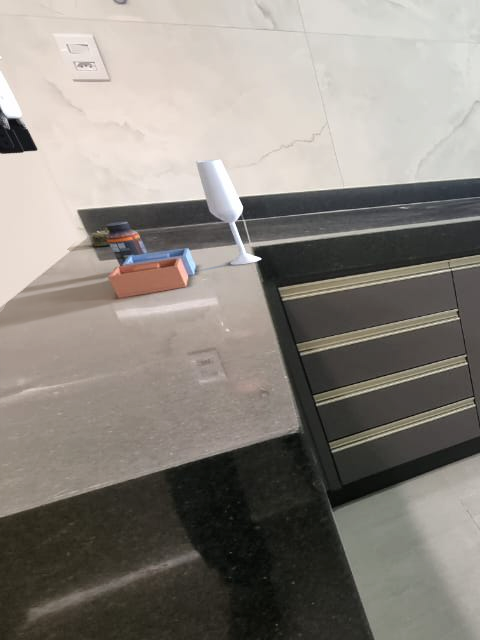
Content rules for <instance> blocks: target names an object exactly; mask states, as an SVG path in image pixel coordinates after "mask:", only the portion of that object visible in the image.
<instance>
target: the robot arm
mask: <svg viewBox="0 0 480 640" xmlns="http://www.w3.org/2000/svg"><path fill="white" fill-rule="evenodd" d="M1 60H3V58H2V56H1V55H0V61H1ZM22 116H23V114H22V111H21V108H20V106H19V104H18V101H17V100H16V97H15V96H14V93H13V92H12V90H11V88H10V86H9V84H8V82H7V80H6V79H5V76H4V74H3V72H2V71H1V70H0V154H1V155H5V154H6V155H9V154H10V155H11V154H22V153H24V152H37V151H38V150H39V149H38V147H37V145H36V142H35V141H34V139H33V137H32V135H31V133H30V130H29V129H28V128H27V125H26V124H25V123H24V121H23V119H22V118H21V117H22Z"/></svg>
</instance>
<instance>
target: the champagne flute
mask: <svg viewBox="0 0 480 640" xmlns="http://www.w3.org/2000/svg"><path fill="white" fill-rule="evenodd" d="M195 164H196V168H197V171H198V175H199V179H200V182H201V186H202V190H203V193H204V196H205V200H206V204H207V208H208V211H209V212H210V214H211V215H213V216H214V217H215V218H217V219H219V220H221V221H222V222H224V223H228V224H229V228H230V230H231V233H232V236H233V238H234V240H235V244H236V246H237V250H238V252H239V255H237V256H236V257H235V258H234V259H233V260H232V261H231V262H230V265H233V266H234V265H235V266H237V265H238V266H239V265H247V264H251V263H256V262H258V261H261V260H262V258H261V257H259V256H256V255H253V254H250V253H246V249H245V247H244V244H243V241H242V239H241V237H240V233H239V231H238V228H237V226H236V223H235V222H236V221H238V219H239V218H240V217H241V215H242V213H243V210H244V206H243V204H242V201H241V200H240V198H239V196H238V194H237V192H236V189H235V187H234V185H233V183H232V180H231V179H230V177H229V175H228V172H227V170H226V169H225V166H224V164H223V162H222V160H221V159H208V160H207V159H206V160H198V161H195Z"/></svg>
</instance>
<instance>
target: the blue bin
mask: <svg viewBox="0 0 480 640" xmlns="http://www.w3.org/2000/svg"><path fill="white" fill-rule="evenodd" d="M164 253H169V255H170V258H163V259H156V260H149V261H146V260H145V259H146V257H147V256H150V255H157V254H164ZM173 258H181V261H182V263H183V265H184V268H185V270H186V272H187V275H188V277H189V276H194V275H195V272H196V263H195V261H194V259H193V257H192V254H191V252H190V249H189V247H185V248H178V249H171V250H170V249H169V250H164V251H156V252H148V254H142V255H134V256H128V258H127V259H126V261H125V262H124V263H123V266H125V265H132V264H139V263H146V262H152V261H159V260H166V259H173Z"/></svg>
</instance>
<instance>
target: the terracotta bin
mask: <svg viewBox="0 0 480 640" xmlns="http://www.w3.org/2000/svg"><path fill="white" fill-rule="evenodd" d="M156 263H159V265H160V267H161V268H159V269H153V270H146V271H140V272H134V271H133V270H134V268H135V267H136V266H142V265H149V264H156ZM107 278H108V280H109V282H110V284H111V286H112V289H113V290H114V292H115V294H116V296H117V298H118V299H122V298H129V297H133V296H134V297H135V296H141V295H146V294H152V293H158V292H164V291H169V290H170V291H171V290H175V289H181V288H186V287H187V285H188V281H189V276H188V275H187V272H186V270H185V268H184V265H183V263H182V261H181V258H173V259H166V260H159V261H152V262H146V263H139V264H132V265H125V266H120V265H119V266H115V267H114V268H113V269H112V271H111V272H110V273H109V275H108V276H107Z"/></svg>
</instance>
